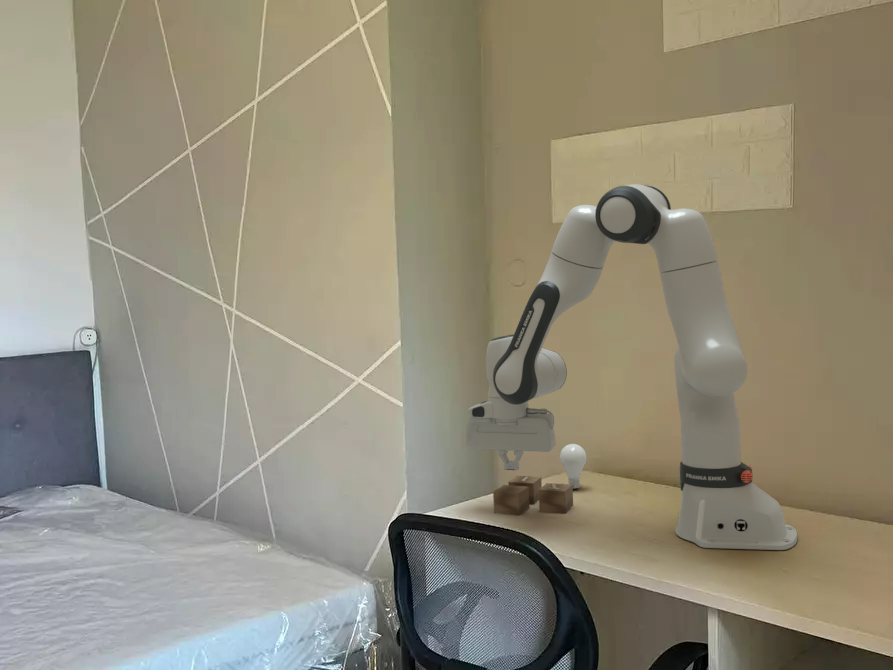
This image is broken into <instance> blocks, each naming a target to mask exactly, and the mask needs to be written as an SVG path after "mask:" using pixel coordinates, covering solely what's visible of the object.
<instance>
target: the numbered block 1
mask: <svg viewBox="0 0 893 670" xmlns="http://www.w3.org/2000/svg"><path fill="white" fill-rule="evenodd" d="M507 485H512V486H525V487H529V505H535V504H536V503H537V501H538V502H539V489H540V488H541V487H543V486H542V476H533V475H532V476H531V475H530V476H529V475H515V476H514V477H513V478H511V479H510V480H509V481H508V484H507Z"/></svg>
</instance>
